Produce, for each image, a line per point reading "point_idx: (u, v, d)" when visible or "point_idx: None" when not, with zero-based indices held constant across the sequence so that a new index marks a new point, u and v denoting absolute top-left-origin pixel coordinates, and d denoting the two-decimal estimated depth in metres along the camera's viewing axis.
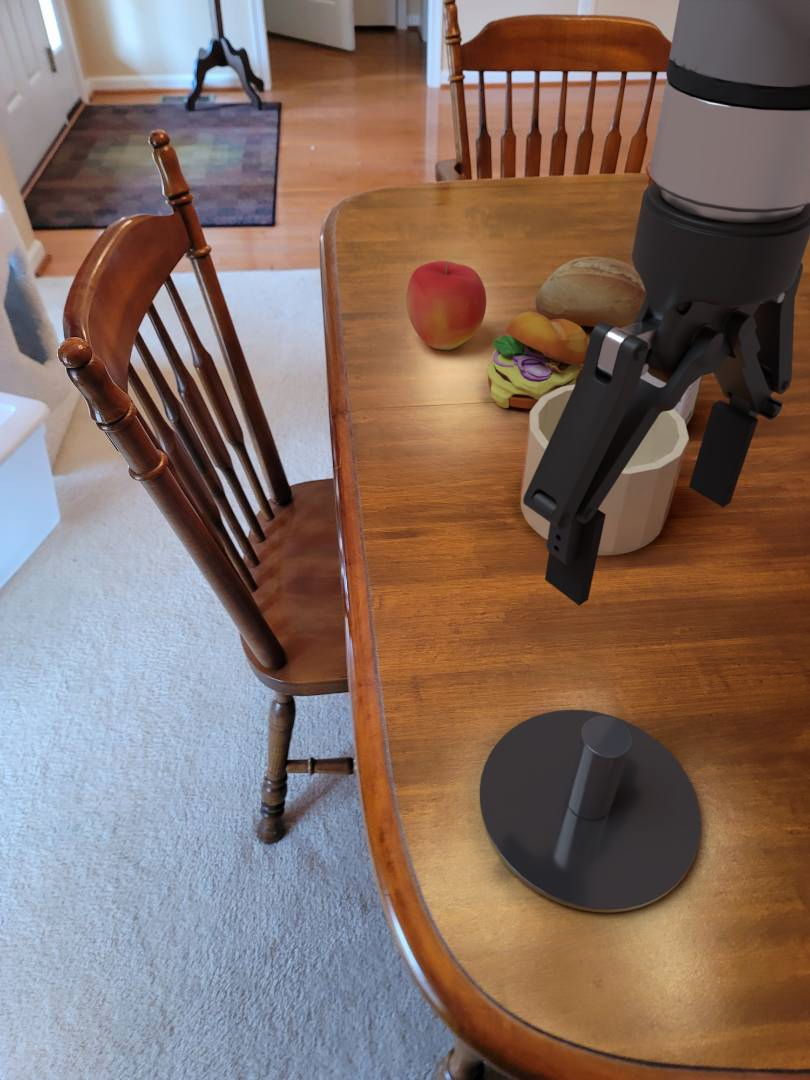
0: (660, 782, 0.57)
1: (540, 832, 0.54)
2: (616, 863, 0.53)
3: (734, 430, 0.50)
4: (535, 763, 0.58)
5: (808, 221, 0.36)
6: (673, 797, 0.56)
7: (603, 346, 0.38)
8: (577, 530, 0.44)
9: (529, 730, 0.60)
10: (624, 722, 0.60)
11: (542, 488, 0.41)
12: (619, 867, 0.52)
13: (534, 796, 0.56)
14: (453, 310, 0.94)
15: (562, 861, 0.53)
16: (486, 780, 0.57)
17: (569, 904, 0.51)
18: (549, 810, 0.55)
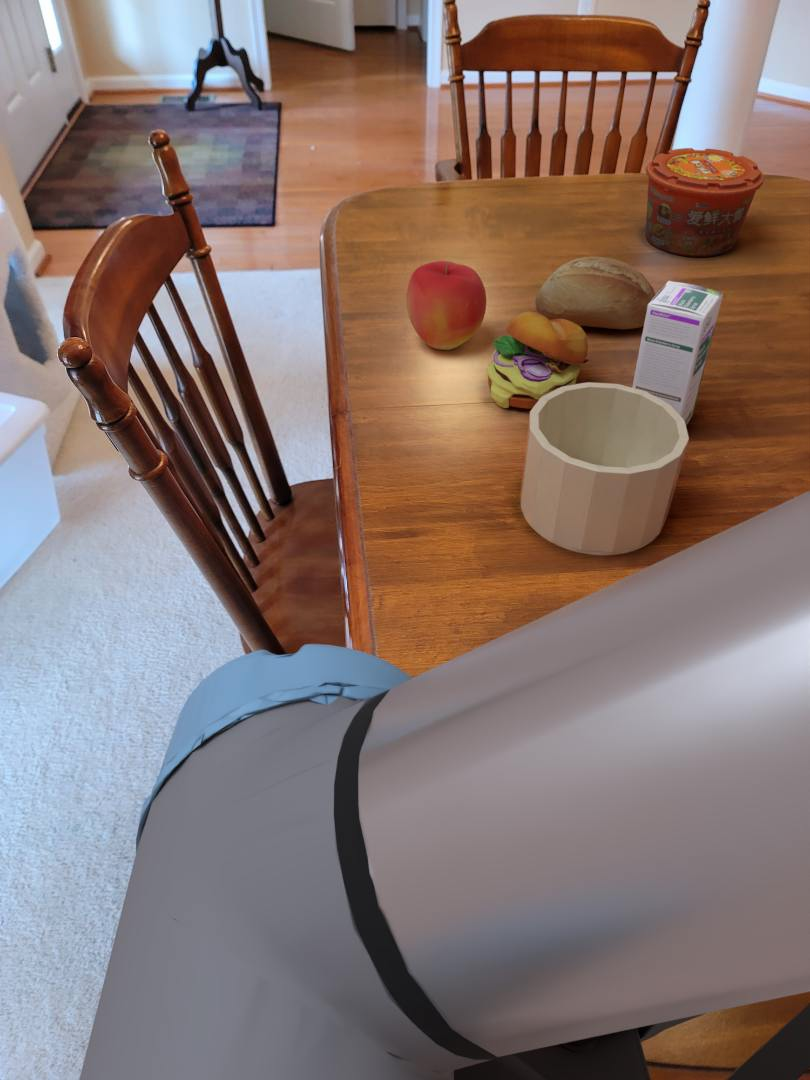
0: None
1: None
2: None
3: None
4: None
5: None
6: None
7: None
8: None
9: None
10: None
11: None
12: None
13: None
14: (453, 310, 0.94)
15: None
16: None
17: None
18: None
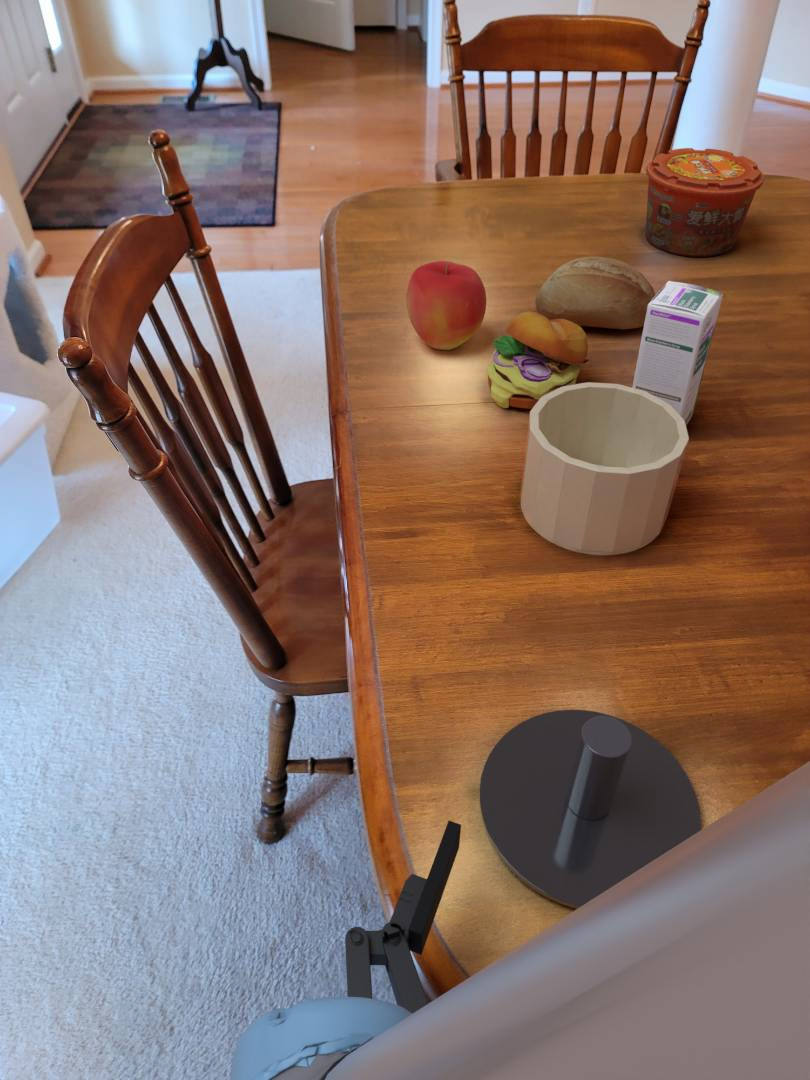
0: (660, 782, 0.57)
1: (540, 832, 0.54)
2: (616, 863, 0.53)
3: (427, 924, 0.44)
4: (535, 763, 0.58)
5: None
6: (673, 797, 0.56)
7: None
8: None
9: (529, 730, 0.60)
10: (624, 722, 0.60)
11: None
12: (619, 867, 0.52)
13: (534, 796, 0.56)
14: (453, 310, 0.94)
15: (562, 861, 0.53)
16: (486, 780, 0.57)
17: (569, 904, 0.51)
18: (549, 810, 0.55)
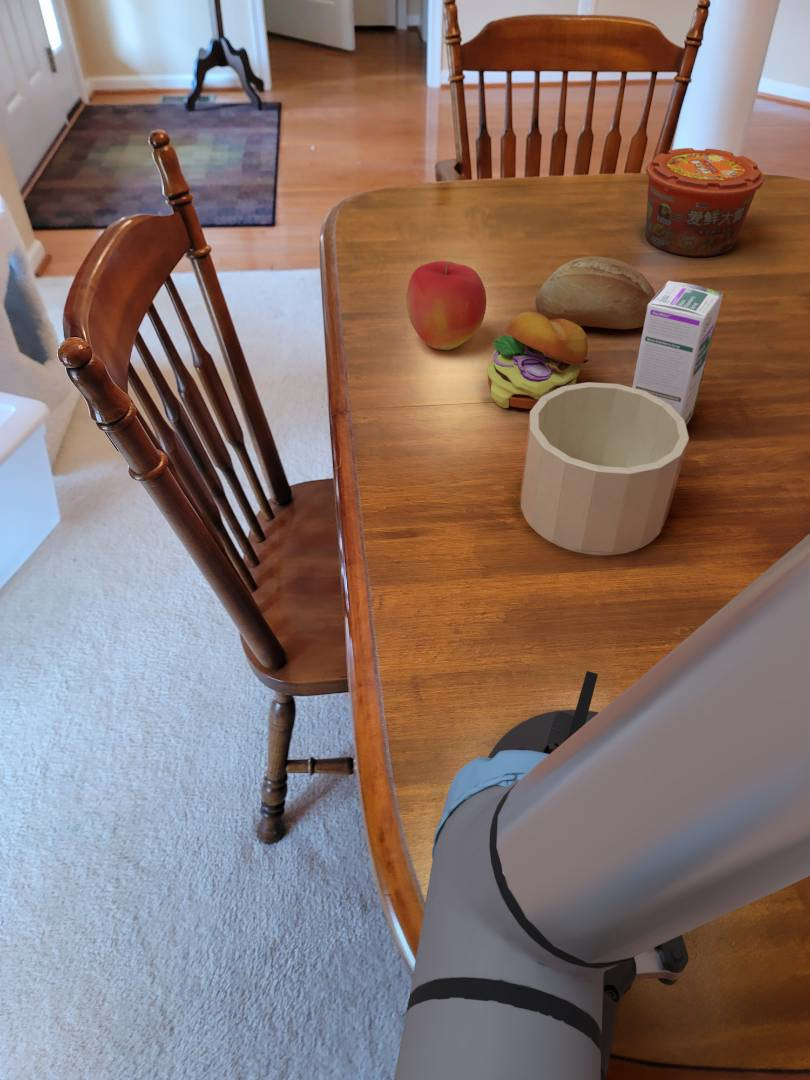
0: None
1: None
2: None
3: None
4: None
5: None
6: None
7: None
8: None
9: (529, 730, 0.60)
10: None
11: None
12: None
13: None
14: (453, 310, 0.94)
15: None
16: None
17: None
18: None
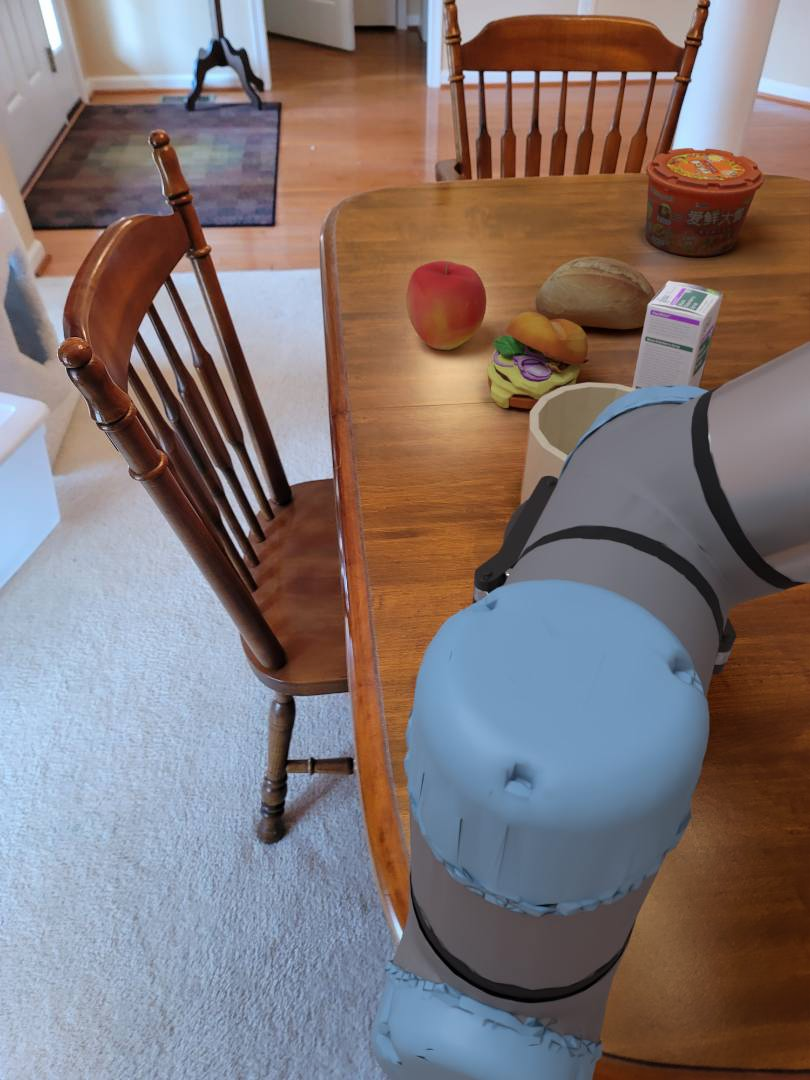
0: None
1: None
2: None
3: None
4: None
5: None
6: None
7: None
8: None
9: None
10: None
11: None
12: None
13: None
14: (453, 310, 0.94)
15: None
16: None
17: None
18: None
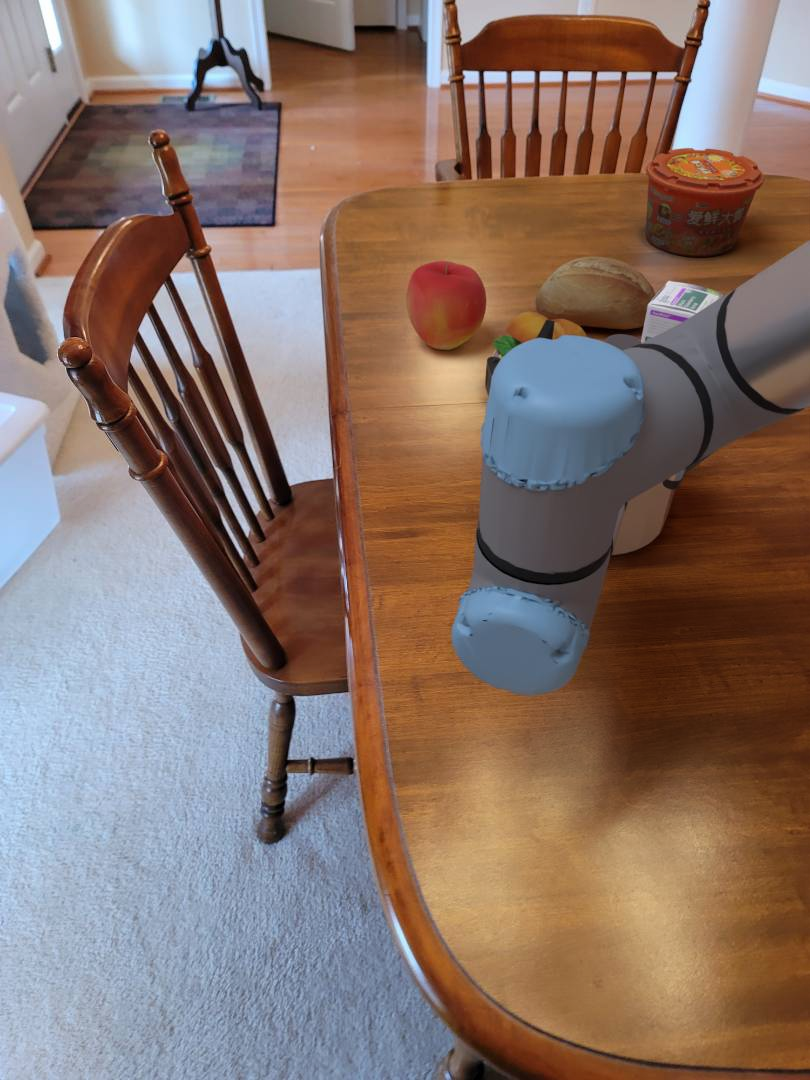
0: None
1: None
2: None
3: None
4: None
5: None
6: None
7: (682, 476, 0.59)
8: None
9: None
10: None
11: None
12: None
13: None
14: (453, 310, 0.94)
15: None
16: None
17: None
18: None
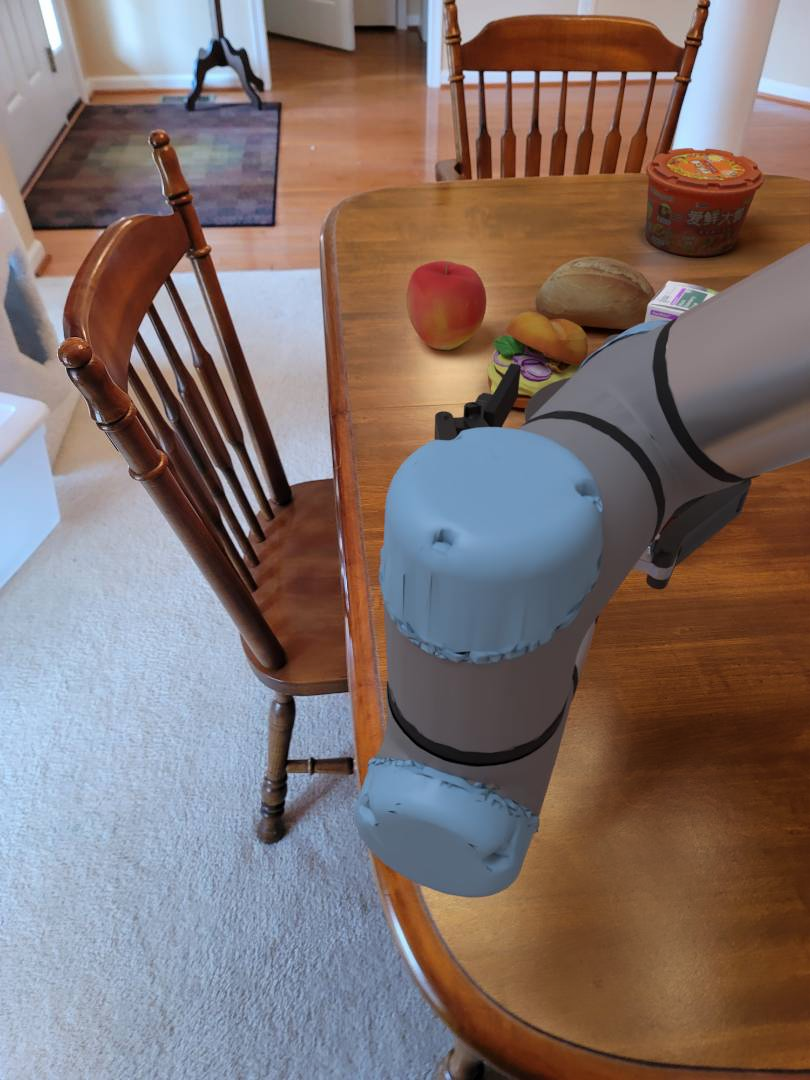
0: None
1: None
2: None
3: (497, 416, 0.57)
4: None
5: None
6: None
7: (670, 573, 0.47)
8: None
9: (561, 385, 0.77)
10: None
11: (735, 510, 0.51)
12: None
13: None
14: (453, 310, 0.94)
15: None
16: (529, 410, 0.74)
17: None
18: None
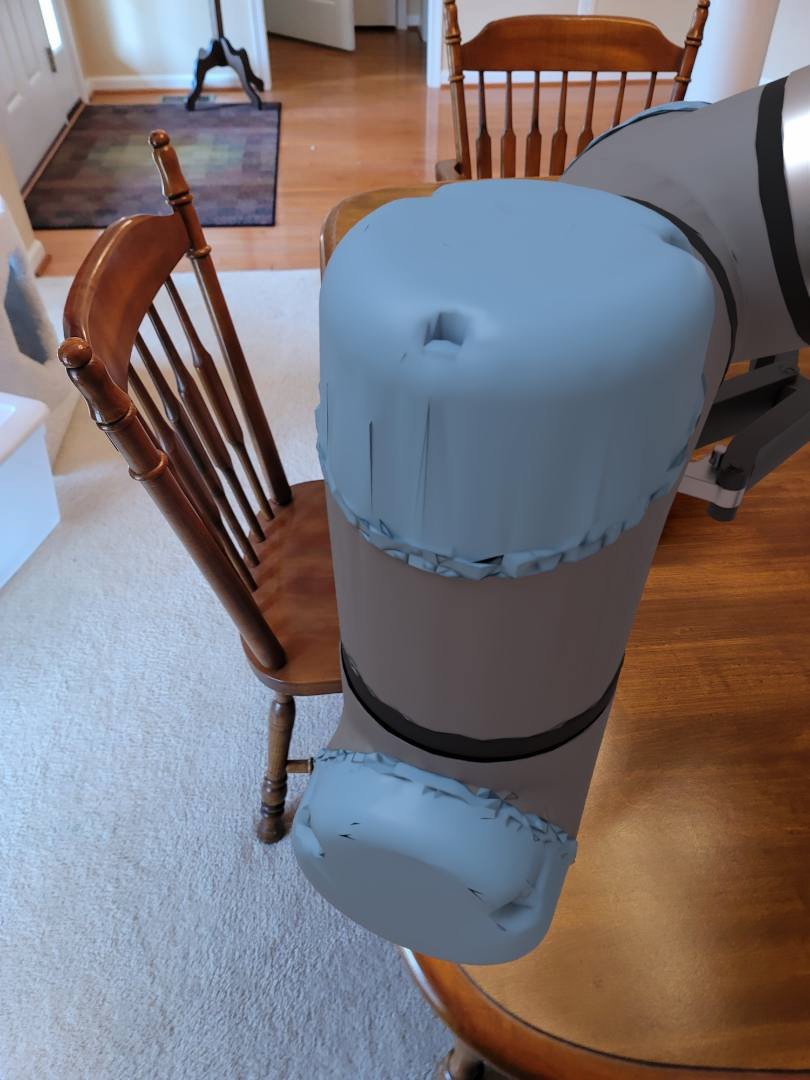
0: None
1: None
2: None
3: None
4: None
5: None
6: None
7: (741, 499, 0.34)
8: (785, 361, 0.40)
9: None
10: None
11: None
12: None
13: None
14: None
15: None
16: None
17: None
18: None
